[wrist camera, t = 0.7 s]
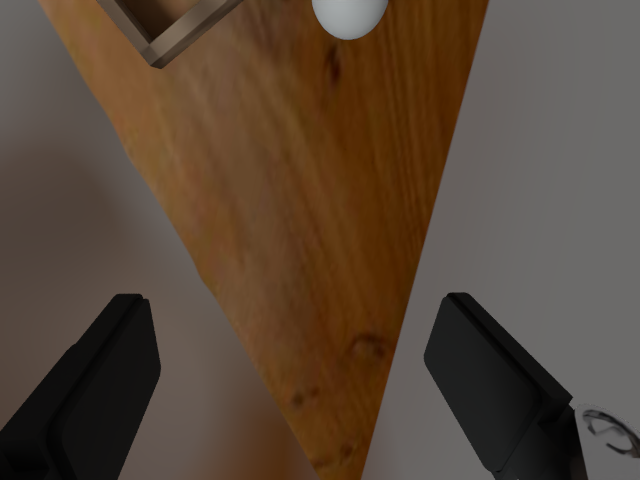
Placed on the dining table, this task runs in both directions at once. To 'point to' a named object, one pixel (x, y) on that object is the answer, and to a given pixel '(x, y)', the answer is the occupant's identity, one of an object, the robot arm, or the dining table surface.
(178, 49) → the box
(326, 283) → the dining table surface
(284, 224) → the dining table surface
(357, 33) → the lightbulb
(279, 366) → the dining table surface
